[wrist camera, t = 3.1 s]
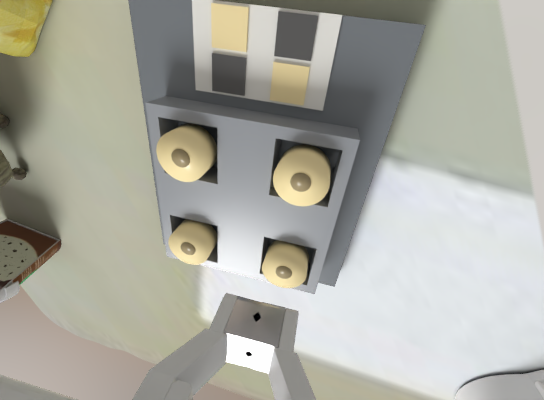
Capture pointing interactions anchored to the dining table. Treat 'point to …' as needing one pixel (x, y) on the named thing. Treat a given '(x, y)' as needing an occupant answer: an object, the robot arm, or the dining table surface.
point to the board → (345, 103)
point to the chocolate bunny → (21, 25)
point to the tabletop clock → (3, 171)
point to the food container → (21, 255)
